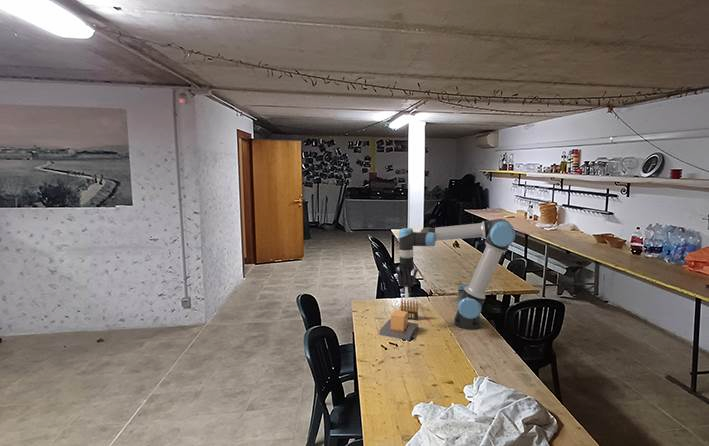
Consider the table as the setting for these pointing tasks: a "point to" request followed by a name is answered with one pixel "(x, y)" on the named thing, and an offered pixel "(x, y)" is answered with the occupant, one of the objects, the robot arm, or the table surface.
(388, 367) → the table surface
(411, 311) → the ammunition clip
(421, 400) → the table surface
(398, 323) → the cardboard-colored brick
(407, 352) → the table surface
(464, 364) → the table surface
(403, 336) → the socket plate
